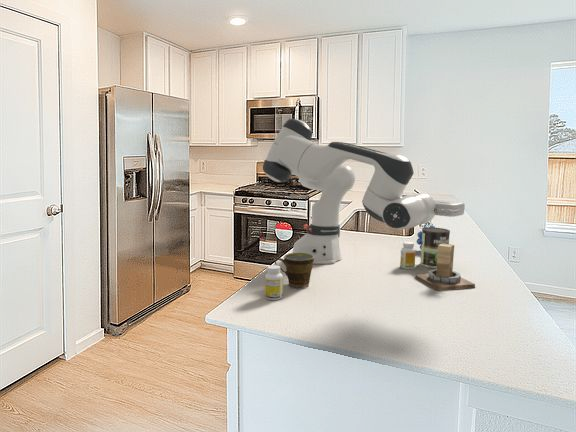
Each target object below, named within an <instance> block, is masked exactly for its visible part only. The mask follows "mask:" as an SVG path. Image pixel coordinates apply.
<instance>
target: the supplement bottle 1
mask: <svg viewBox="0 0 576 432" xmlns="http://www.w3.org/2000/svg"><path fill="white" fill-rule="evenodd" d="M280 268H281V266H280V265H278V266H277V265H275V264H274V265H272V264H271V265H268V266H267V268H266V271H267V273H265V275H264V287H265V290H264V296H265V299H266V300H269V301H277V300H278V301H279V300H281V299H283V297H284V296H283V295H284V294H283V293H284V290H283V289H284V285H283V284H284V283H283V282H284V281H283V280H284V278H283V274H282V273H281V269H280Z"/></svg>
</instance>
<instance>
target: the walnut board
mask: <svg viewBox="0 0 576 432" xmlns="http://www.w3.org/2000/svg"><path fill="white" fill-rule="evenodd" d="M414 279H416V280H418V281H420V282H421V283H423V284H424V285H427V286H428V287H430V288H432V289H434V290H435V291H437V292H438V291H449V290H450V291H451V290H461V289H463V290H464V289H471V288H473V289H474V288H476V283H474V282H472V281H469V280H468V279H465V278H463V277H461V280H460V282H459V283H456V284H443V283H438V282H433V281H431V280H430V279H429V273H421V274H420V273H419V274H417V273H416V274H415V276H414Z"/></svg>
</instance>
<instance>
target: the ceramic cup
mask: <svg viewBox="0 0 576 432" xmlns="http://www.w3.org/2000/svg"><path fill="white" fill-rule="evenodd" d="M278 261H281V262H282V263H283V264H284V266H285V270H284V269H283V268H281V267H280V271H282V272H283V273H284V274H285V275H286V277H287V279H288V280H287V281H288V285H289V286H290V288H292V287H293V288H292V289H306V288H308V287H309V286H310V281H311V275H312V271H313V266H314V264H313V262H314V256H313V255H311V254H307V253H293V252H290V254H289V253H288V254H287V253H286V254H285V255H284V256H283V258H280V257H279V258H276V259H275V261H274V265H277V262H278ZM277 266H279V265H277ZM305 287H306V288H305Z"/></svg>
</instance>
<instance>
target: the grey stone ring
mask: <svg viewBox="0 0 576 432" xmlns="http://www.w3.org/2000/svg"><path fill="white" fill-rule="evenodd" d="M436 273H437V268H434V269H432V270H429V271H428V274H429V279H430V280H431V281H433V282H438V283H443V284H456V283H459V282H460V280H461V278H462V277H461V276H462V275H461V273H459V272H457V271H454V270H453V272H452V277H442V276H437V275H436Z"/></svg>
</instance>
